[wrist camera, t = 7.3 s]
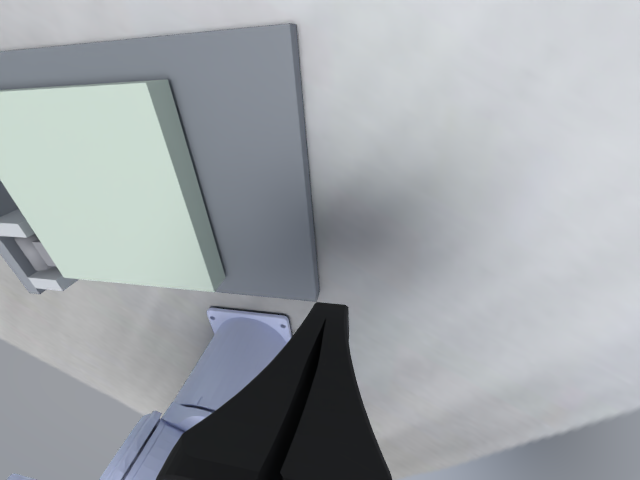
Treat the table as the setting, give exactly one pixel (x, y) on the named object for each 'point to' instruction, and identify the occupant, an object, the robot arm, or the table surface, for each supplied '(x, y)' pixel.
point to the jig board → (206, 145)
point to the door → (107, 185)
